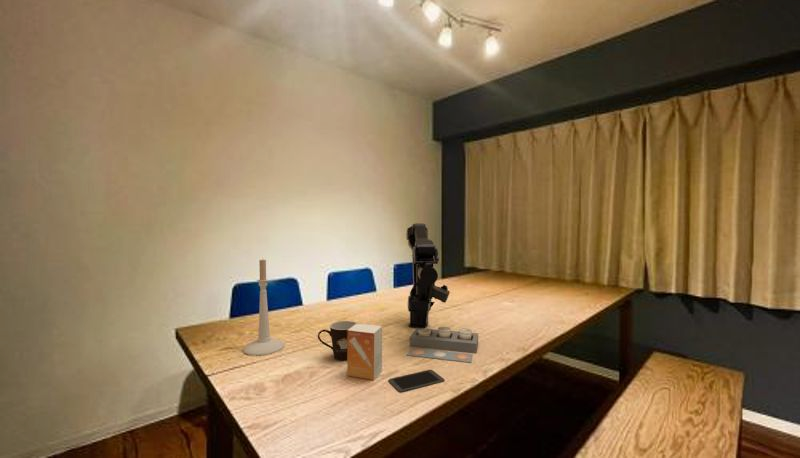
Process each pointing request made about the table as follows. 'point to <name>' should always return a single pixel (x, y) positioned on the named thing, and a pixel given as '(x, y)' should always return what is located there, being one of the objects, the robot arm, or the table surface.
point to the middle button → (444, 332)
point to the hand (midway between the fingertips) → (424, 323)
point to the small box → (364, 351)
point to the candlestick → (263, 323)
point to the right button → (465, 334)
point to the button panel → (444, 341)
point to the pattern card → (440, 355)
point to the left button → (424, 332)
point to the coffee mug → (339, 338)
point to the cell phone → (415, 380)
